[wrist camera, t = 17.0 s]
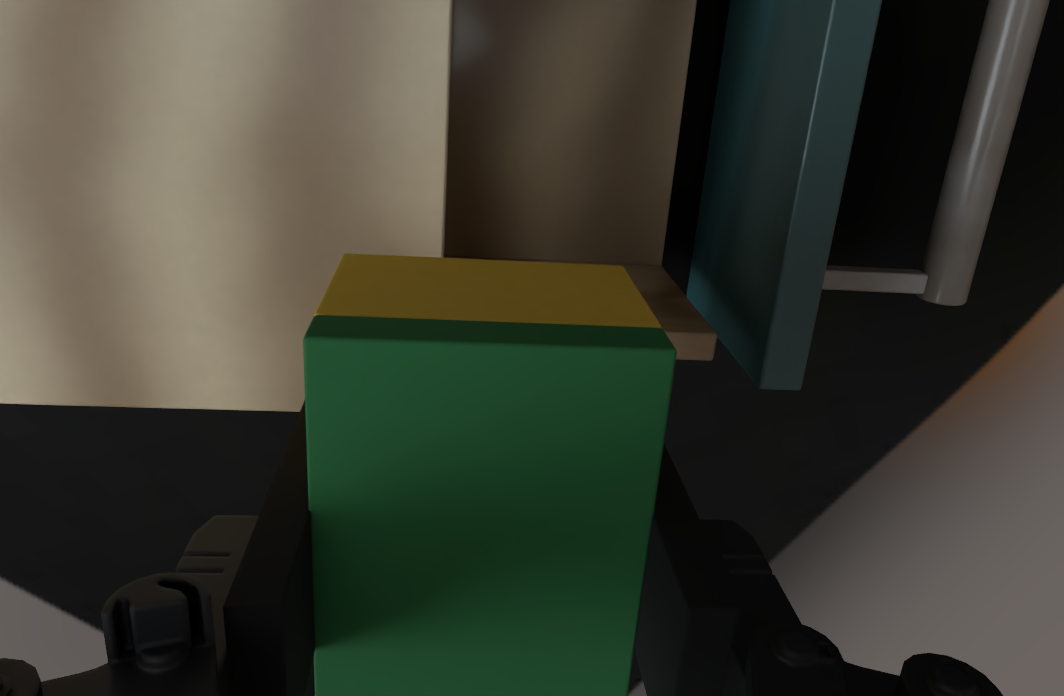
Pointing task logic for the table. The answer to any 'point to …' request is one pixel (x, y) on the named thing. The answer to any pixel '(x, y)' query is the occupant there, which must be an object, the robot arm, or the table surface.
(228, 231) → the cabinet
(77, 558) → the table surface
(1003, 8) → the drawer
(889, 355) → the table surface
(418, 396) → the sponge
